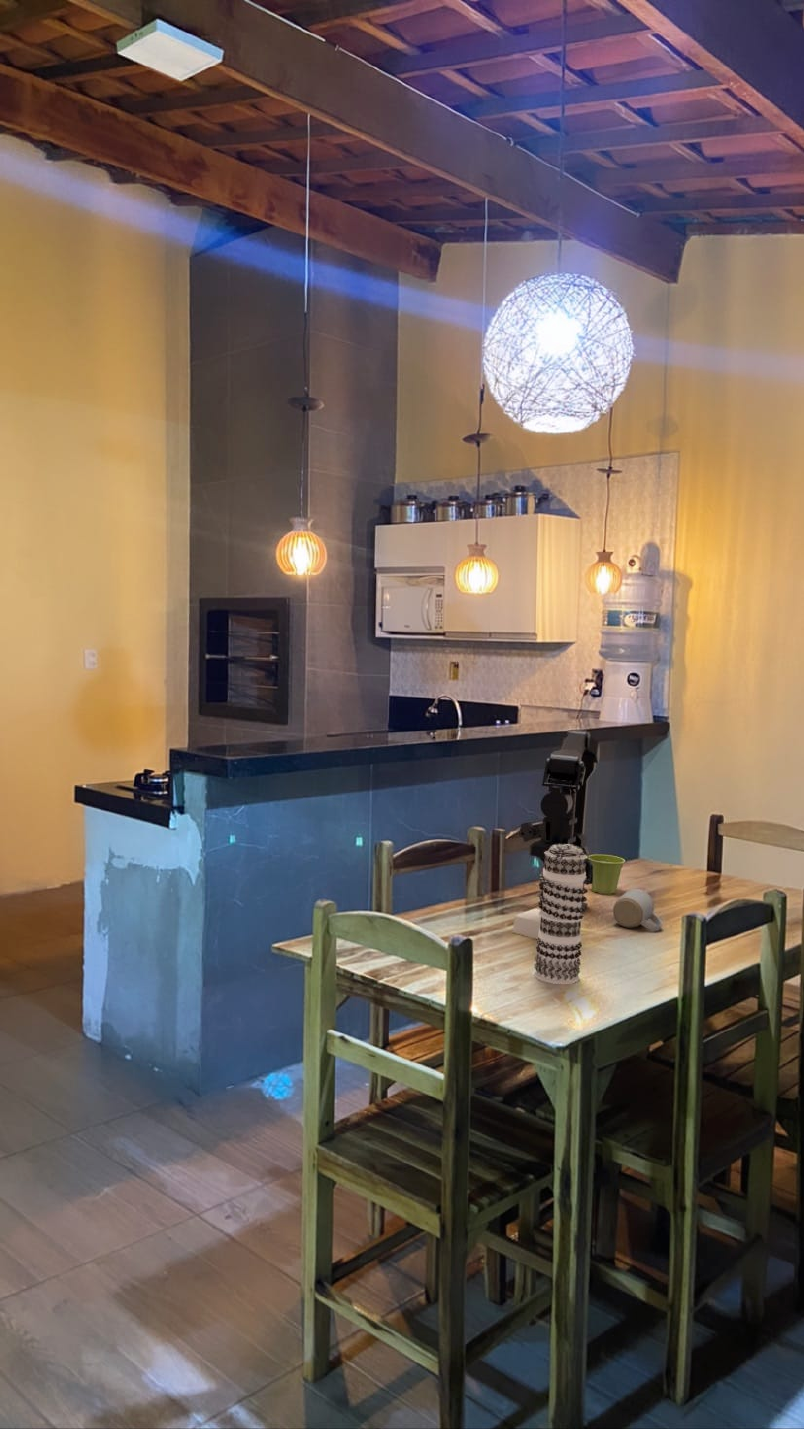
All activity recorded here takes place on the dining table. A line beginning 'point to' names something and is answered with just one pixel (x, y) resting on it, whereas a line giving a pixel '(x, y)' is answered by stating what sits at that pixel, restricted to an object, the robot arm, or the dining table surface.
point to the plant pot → (606, 873)
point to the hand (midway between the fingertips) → (555, 884)
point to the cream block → (527, 923)
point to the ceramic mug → (636, 910)
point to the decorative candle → (561, 914)
